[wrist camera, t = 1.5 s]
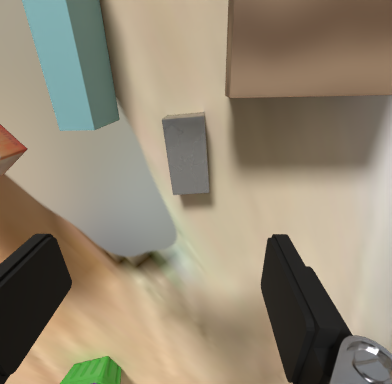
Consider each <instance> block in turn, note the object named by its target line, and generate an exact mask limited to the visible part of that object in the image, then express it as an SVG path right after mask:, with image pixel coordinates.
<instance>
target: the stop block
mask: <svg viewBox="0 0 392 384" xmlns="http://www.w3.org/2000/svg"><path fill="white" fill-rule="evenodd" d="M22 2H23V6H24V9H25V12H26V16H27V19H28V22H29V26H30V30H31V33H32V36H33V39H34V43H35V47H36V50H37V53H38V57H39V60H40V64H41V67H42V71H43V74H44V78H45V81H46V84H47V88H48V91H49V94H50V98H51V102H52V105H53V109H54V112H55V115H56V119H57V122H58V126H59V129H60V131H63V130H96V129H98V128H101V127H103V126H106V125H108V124H110V123H113V122H115V121H118V120H119V114H118V108H117V102H116V96H115V90H114V84H113V78H112V72H111V66H110V60H109V55H108V49H107V43H106V37H105V31H104V25H103V19H102V13H101V7H100V1H99V0H22Z"/></svg>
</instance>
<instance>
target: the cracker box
mask: <svg viewBox="0 0 392 384" xmlns="http://www.w3.org/2000/svg"><path fill="white" fill-rule="evenodd" d="M26 150H27V148H26V147H25V146H24V145H23V144H21V143H20V142H19V141H18V140H17V139H16V138H15V137H14V136H13V135H11V134H10V133H9V132H8V131H7V130H6V129H5V128H4V127H3V126H2V125H0V176H1V175H3V174H4V173H5V172H6V171H7V170H8V169H9V168H10V167H11V166H12V165H13V164H14V163H15V162H16V161H17V160H18V159H19V157H20V156H21V155H22V154H23V153H24V152H25V151H26Z"/></svg>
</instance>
